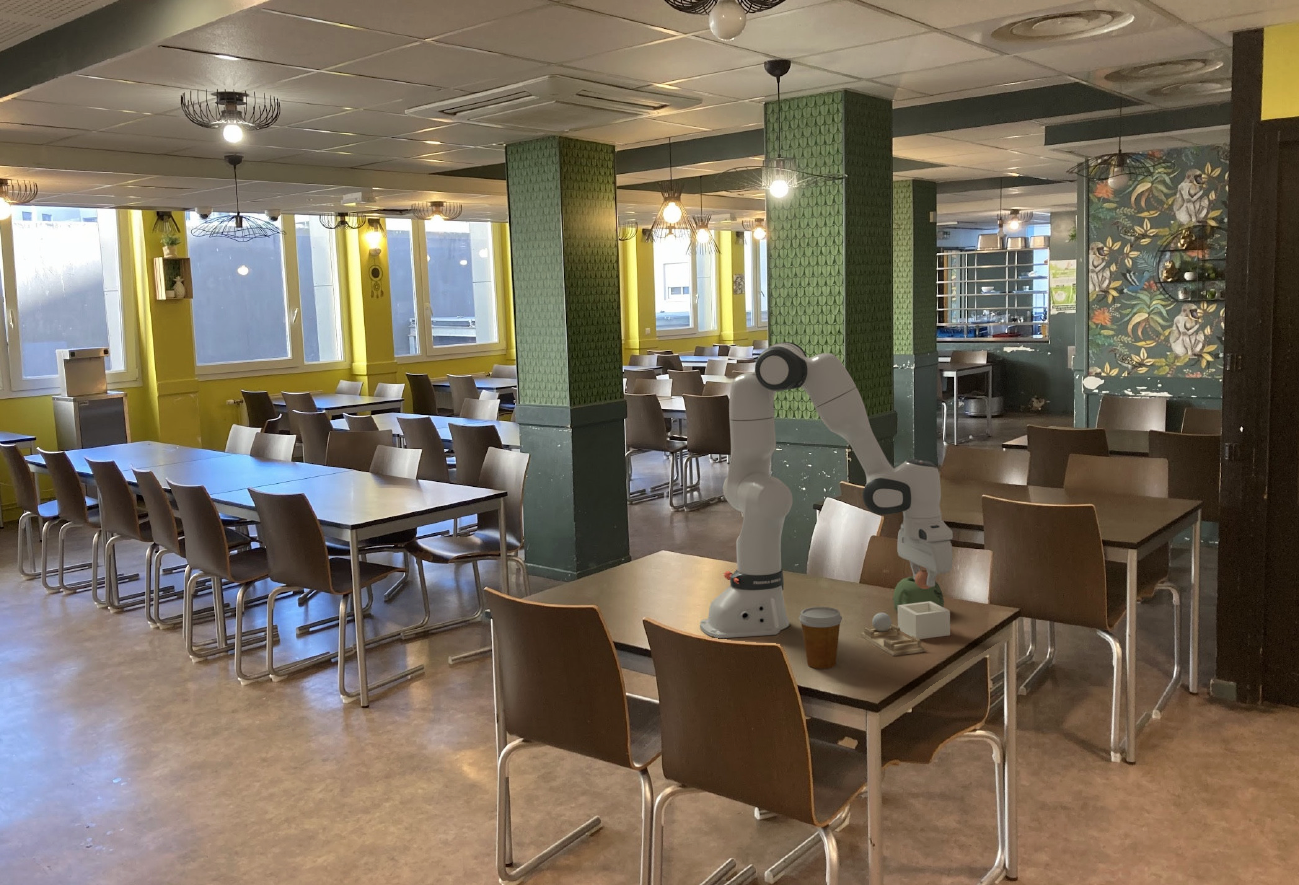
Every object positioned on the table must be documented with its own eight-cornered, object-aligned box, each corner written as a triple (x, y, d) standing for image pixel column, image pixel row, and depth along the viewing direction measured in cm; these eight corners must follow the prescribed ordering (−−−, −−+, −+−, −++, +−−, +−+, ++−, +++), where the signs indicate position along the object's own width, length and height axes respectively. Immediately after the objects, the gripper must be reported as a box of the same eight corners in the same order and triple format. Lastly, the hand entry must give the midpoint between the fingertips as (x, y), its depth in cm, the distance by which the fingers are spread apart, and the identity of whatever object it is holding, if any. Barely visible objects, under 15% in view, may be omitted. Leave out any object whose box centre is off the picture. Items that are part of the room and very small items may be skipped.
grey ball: (877, 634, 251) (877, 616, 251) (869, 629, 256) (868, 611, 255) (895, 632, 252) (894, 614, 252) (886, 627, 257) (885, 609, 256)
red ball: (921, 592, 253) (920, 573, 252) (911, 587, 257) (911, 569, 257) (937, 589, 254) (937, 571, 253) (928, 585, 258) (927, 567, 258)
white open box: (916, 639, 252) (915, 615, 251) (897, 629, 260) (897, 605, 259) (950, 635, 254) (949, 610, 253) (930, 624, 262) (930, 601, 262)
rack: (892, 656, 241) (892, 645, 240) (861, 635, 256) (861, 626, 256) (924, 651, 243) (924, 641, 242) (891, 631, 258) (891, 622, 258)
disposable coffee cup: (803, 656, 243) (802, 605, 242) (845, 658, 241) (844, 607, 239) (797, 670, 234) (795, 617, 233) (840, 672, 232) (839, 619, 230)
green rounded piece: (908, 602, 283) (907, 570, 282) (953, 609, 274) (953, 577, 273) (877, 616, 271) (876, 583, 270) (922, 625, 263) (922, 591, 262)
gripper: (890, 520, 263) (891, 574, 265) (932, 536, 243) (933, 595, 245) (913, 517, 264) (914, 571, 266) (956, 533, 245) (958, 591, 247)
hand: (924, 583), depth 255 cm, fingers closed on red ball, 4 cm apart
